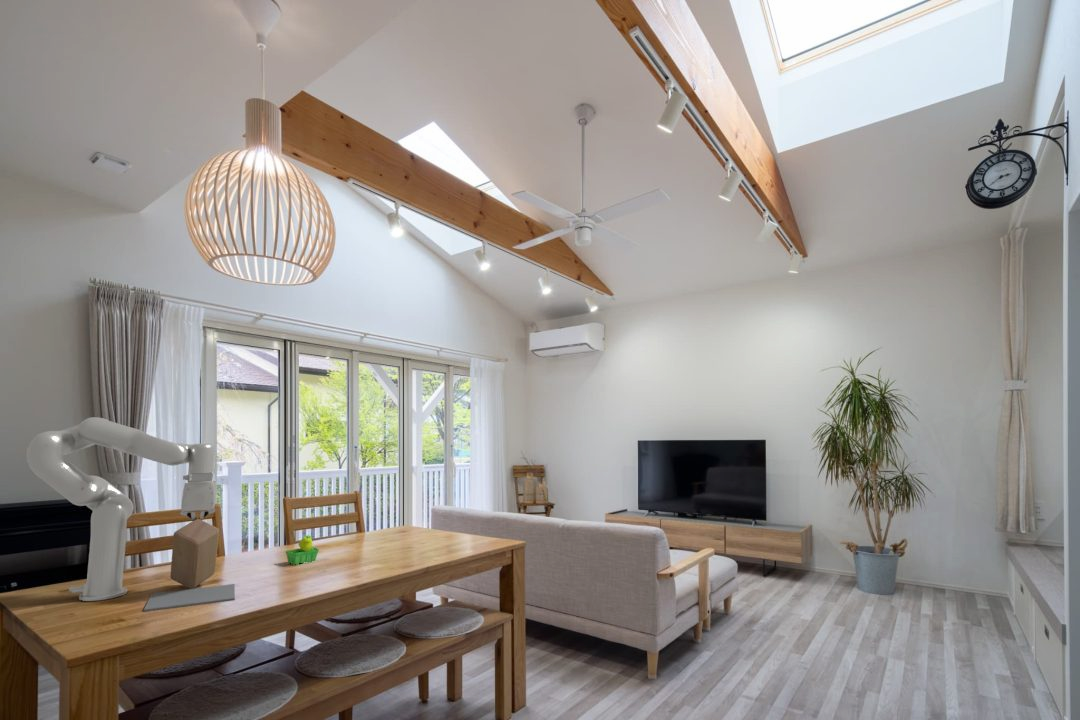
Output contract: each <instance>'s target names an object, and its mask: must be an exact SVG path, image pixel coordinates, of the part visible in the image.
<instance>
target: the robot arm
mask: <svg viewBox="0 0 1080 720" xmlns="http://www.w3.org/2000/svg"><path fill="white" fill-rule="evenodd" d="M95 445H96V446H97V445H98V446H99V447H103V448H104V447H105V448H107V449H108V448H109V449H111V450H115V451H118V452H120V453H121V452H122V453H125V454H128V455H131V456H135V457H140V458H143V459H147V460H149V461H153V462H157V463H160V464H162V465H167V466H179V465H185V464H188V471H187V472H188V473H187V474H186V475H183V476H182V480H185V481H187V482H185V483H184V485H183V490H182V496H181V504H180V505H181V506H180V507H181V509H180V513H179V514H180V515H181V516H185V517H188V518H189V519H190V520H192V521H194V520H196V519H200V520H202V521H203V519H204V518H205V517H207V516H208V515H210V514H211V515H212V514H214V513H216V507H215V505H216V484H215V481H213V470H214V468H213V467H214V458H215V457H214V455H215V446H214V445H213V443H194V444H188V443H180V442H179V443H175V442H173V441H168V440H165V439H162V438H159V437H156V436H153V435H150V434H148V433H146V432H145V431H143V430H141V429H137V428H134V427H131V426H127V425H124V424H121V423H118V422H115V421H111V420H109V419H106V418H103V417H97V416H95V417H94V416H93V417H87V418H85V419H84V420H82V421H81V422H80V424H77V425H74V426H71V427H68V428H65V429H61V430H48V431H44V432H40V433H39V434H37V435H36V436H35V437H34V438H32V439H31V441H30V443H29V445H28V447H27V449H26V461H27V464H28V467H29V469H30V470H31V471H32V472H33V473H34V474H35V475H36V476H37V477H38V478H39V479H41V480H42V481H43V482H45V483H46V484H47V485H48V486H49V487H51V488H52V489H53V490H54V491H56V492H57V493H58V494H60V496H62V497H64V498H65V499H66V500H67V501H68V502H70V503H71V504H72V505H75V506H78V507H83V506H86V507H87V508H88V509H90V510H91V511H92V513H91V514H90V515H91V516H90V540H89V541H90V542H89V553H88V564H87V574H86V577H87V578H86V582H85V583H84V584H81V585H75V586H69V589H68V594H78V593H81V594H79V595H78V599H79V601H81V600H82V602H95V601H104V600H110V599H114V598H119V597H122V596H125V595H126V594H127V593H128V588H126V587H123V578H124V566H125V557H126V556H125V555H126V554H125V553H126V544H127V524H128V523H127V521H128V519H129V518H130V517H131V516H132V514H133V512H134V504H133V501H132V500H131V499H130V498H129V496H127V495H125V493H123V492H122V491H121V490H120V489H118V488H116V486H114V485H113V484H112V483H110V482H109V481H108V480H106V479H104V478H103V477H101V476H98V475H88V474H87V473H85V472H84V471H82V470H81V469H80V468H79V467H77V466H76V465H75V464H74V463H72V462H70V461H69V460H68V459H66V458H65V457H64V456H66V455H70V454H72V453H74V452H75V453H76V452H77V451H81V450H83V449H86V448H87V449H88V448H90V447H93V446H95ZM196 512H200V514H199V517H197V515H196ZM192 521H191V522H192Z"/></svg>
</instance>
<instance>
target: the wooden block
mask: <svg viewBox="0 0 1080 720" xmlns="http://www.w3.org/2000/svg"><path fill="white" fill-rule="evenodd" d="M219 536H220V528H218V527H216V526H215V525H212V524H210V523H207V522H206V521H204V520H203V519H202V520H200V519H198V518H197V519H196V520H194V521H190V522H189V523H188V524H185V525H184V526H182V527H181V528H179V529H177V530H176V531H174V532H173V538H172V551H171V563H170V564H171V565H170V579H171V580H173V581H174V582H176V583H178V584H180V585H182V586H184V587H186V588H188V589H195V588H198V586H199V585H201V584H202V583H204V582H205V581H207V580H208V579H209V578H210V577H212V576H213V575H214V574H215V573H216V567H217V557H218V556H217V555H218V549H219V548H218V547H219V538H220V537H219Z"/></svg>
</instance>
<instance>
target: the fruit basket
mask: <svg viewBox="0 0 1080 720" xmlns="http://www.w3.org/2000/svg"><path fill="white" fill-rule="evenodd" d="M313 545H314V543H313V541H312V536H311V535H308V534H307V535H305V536H304V537H302V539H301V540H300V541H299V542H298V547H299V548H296V549H290V550H285V554H286V558H287V562H288V564H289V563H291V564H290V565H292V564H294V565H293V566H296V565H295V564H298V565H300V564H299V563H304V562H310V561H315V562H316V559H317V557H318V553H319V551H320V549H319V548H316V547H313ZM310 563H311V562H310ZM304 564H305V563H304Z"/></svg>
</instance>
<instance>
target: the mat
mask: <svg viewBox="0 0 1080 720" xmlns="http://www.w3.org/2000/svg"><path fill="white" fill-rule="evenodd" d="M235 592H236V591H235V583H232V584H231V583H230V584H224V585H213V586H205V587H195V588H194V589H190V588H188V589H178V590H170V591H162V592H161V591H160V592H154V593H153V592H152V593H151V595H150V597H149V599H148V601H147V603H146V605H145V607H144V608H143V612H144V611H145V612H151V611H150V610H153V611H160V610H159V609H161V610H169V609H176V608H184V607H190V606H199V605H205V604H206V605H207V603H208V604H215V603H222V602H230V601H235V600H236V599H235V594H236V593H235Z"/></svg>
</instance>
